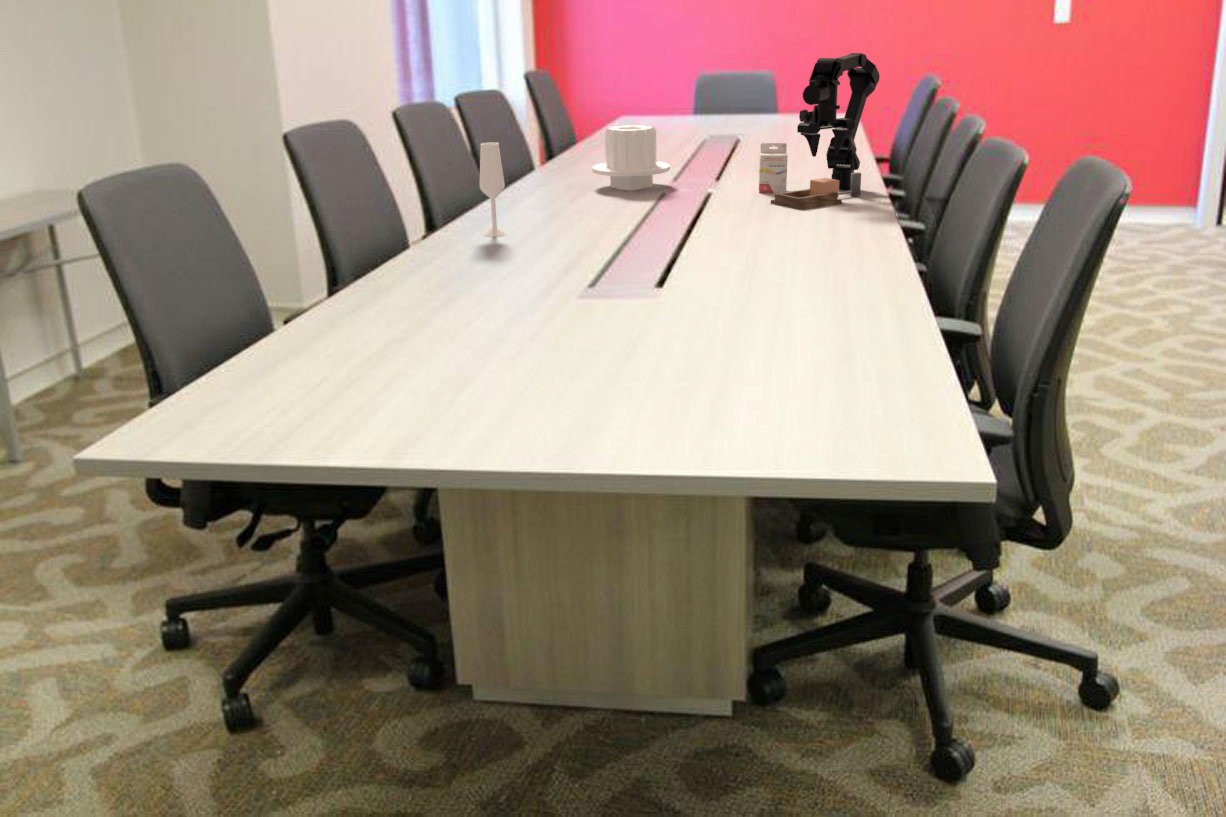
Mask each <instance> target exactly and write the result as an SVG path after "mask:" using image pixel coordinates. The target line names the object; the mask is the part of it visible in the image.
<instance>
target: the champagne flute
mask: <svg viewBox="0 0 1226 817" xmlns="http://www.w3.org/2000/svg"><path fill="white" fill-rule="evenodd" d="M500 151H501V150H500V143H499V142H496V141H495V142H494V141H493V142H482V143H480V153H479V154H480V155H479V189H480V191H482V193H483V194H484V195H486V196H487V198H490V206H491V207H490V208H491V210H490V211H491V221H492V222H491V223H492V227H491V228H489V229H488V230H486V231H485V232H484V233H483V234H482V236H483V237H490V238H493V237H495V238H496V237H497V238H498V237H504V236H506V235H507V236H508V232H506V231H504V230H503V229H501V228H499V227H498V224H497V207H496V206H497V205H496V204H497V203H496V199H497V198H498V197H499V195H501V193H502V192H503V191H504V189H505V187H506V186H505V185H506V184H505V177H504V176H505V175H504V171H503V169H504V168H503V164H502V158H501V152H500Z"/></svg>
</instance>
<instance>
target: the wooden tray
mask: <svg viewBox="0 0 1226 817" xmlns="http://www.w3.org/2000/svg"><path fill="white" fill-rule="evenodd" d="M770 204H772V205H777V206H781V207H787V208H791V209H796V210H799V211H804V210H805V211H806V210H811V209H817V208H823V207H830V206H837V205H842V204H843V202H842V199H839V197H838V193H837V192H833V193H827V194H820V195H814V196H810V188H807V189H800V190H793V191H786V192H785V193H774V199H770Z"/></svg>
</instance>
